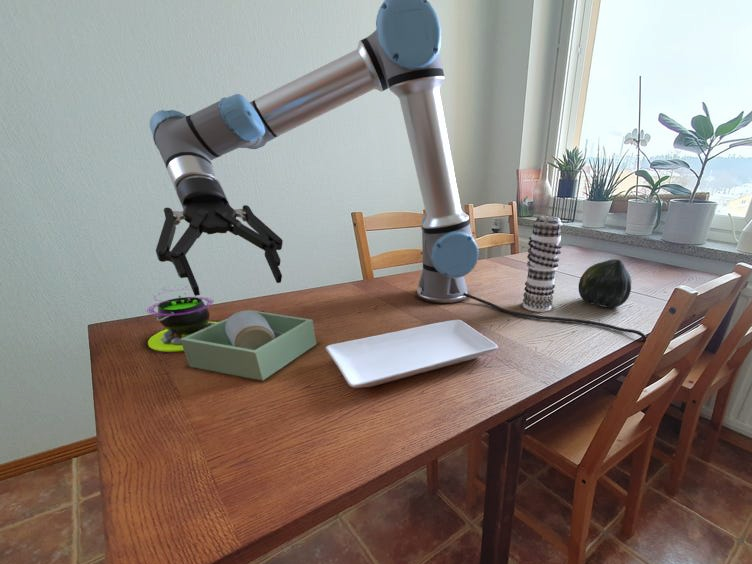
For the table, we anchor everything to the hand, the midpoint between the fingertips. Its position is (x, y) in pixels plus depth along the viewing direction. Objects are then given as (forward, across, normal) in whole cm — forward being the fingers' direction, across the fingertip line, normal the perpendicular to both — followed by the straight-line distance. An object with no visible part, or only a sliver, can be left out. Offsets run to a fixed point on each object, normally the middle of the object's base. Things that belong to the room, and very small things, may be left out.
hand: (240, 285), depth 69 cm
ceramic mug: (+10, -1, -10) cm, 14 cm away
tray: (+26, -24, +4) cm, 35 cm away
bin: (+10, 0, -10) cm, 15 cm away
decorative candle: (+21, -71, 0) cm, 74 cm away
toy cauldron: (-2, +9, -23) cm, 24 cm away
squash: (+28, -90, +7) cm, 94 cm away
